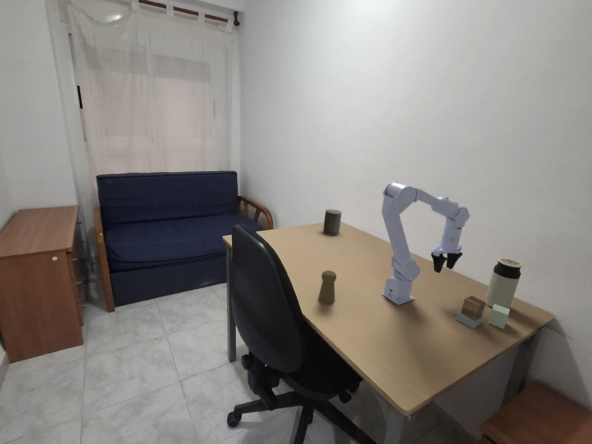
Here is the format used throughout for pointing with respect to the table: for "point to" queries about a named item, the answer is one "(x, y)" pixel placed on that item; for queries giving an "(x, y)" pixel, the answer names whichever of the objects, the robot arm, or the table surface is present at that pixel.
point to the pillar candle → (332, 221)
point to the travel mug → (503, 283)
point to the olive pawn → (327, 287)
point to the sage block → (499, 316)
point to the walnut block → (473, 307)
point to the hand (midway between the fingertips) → (443, 270)
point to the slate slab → (468, 319)
